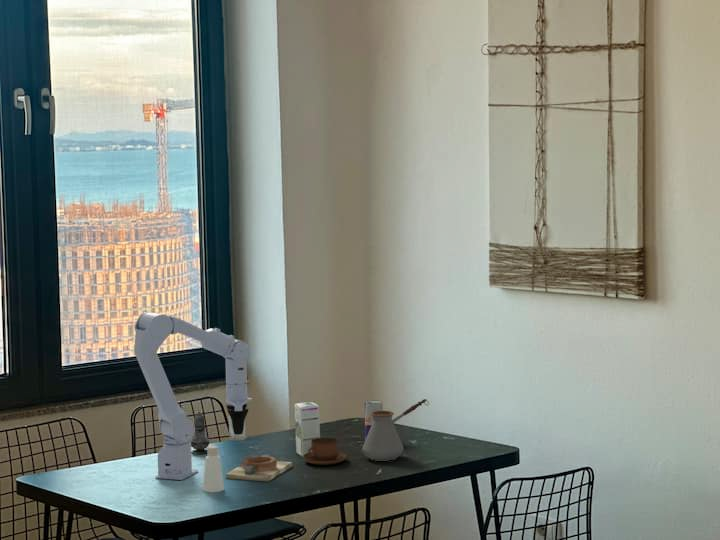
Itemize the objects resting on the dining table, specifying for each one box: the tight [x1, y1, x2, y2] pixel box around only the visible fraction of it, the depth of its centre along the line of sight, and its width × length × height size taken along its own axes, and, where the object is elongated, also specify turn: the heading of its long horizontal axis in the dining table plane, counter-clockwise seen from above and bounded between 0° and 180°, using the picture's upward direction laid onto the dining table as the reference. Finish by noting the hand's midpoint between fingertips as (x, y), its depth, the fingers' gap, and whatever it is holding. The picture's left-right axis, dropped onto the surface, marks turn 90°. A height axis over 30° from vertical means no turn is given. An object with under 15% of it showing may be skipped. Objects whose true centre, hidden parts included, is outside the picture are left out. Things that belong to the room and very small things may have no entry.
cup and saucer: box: [302, 437, 347, 466], centre depth 312 cm, size 12×12×6 cm
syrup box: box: [294, 401, 321, 458], centre depth 320 cm, size 6×6×14 cm
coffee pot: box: [362, 398, 430, 461], centre depth 317 cm, size 21×12×15 cm, turn 123°
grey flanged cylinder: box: [191, 411, 211, 456], centre depth 325 cm, size 6×6×12 cm
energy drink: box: [364, 399, 384, 441], centre depth 335 cm, size 5×5×12 cm
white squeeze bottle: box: [202, 445, 225, 494], centre depth 285 cm, size 5×5×11 cm
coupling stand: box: [225, 454, 293, 482], centre depth 302 cm, size 16×12×3 cm
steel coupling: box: [228, 414, 246, 441], centre depth 311 cm, size 4×4×7 cm
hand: (237, 432), depth 311 cm, fingers closed on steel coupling, 4 cm apart
